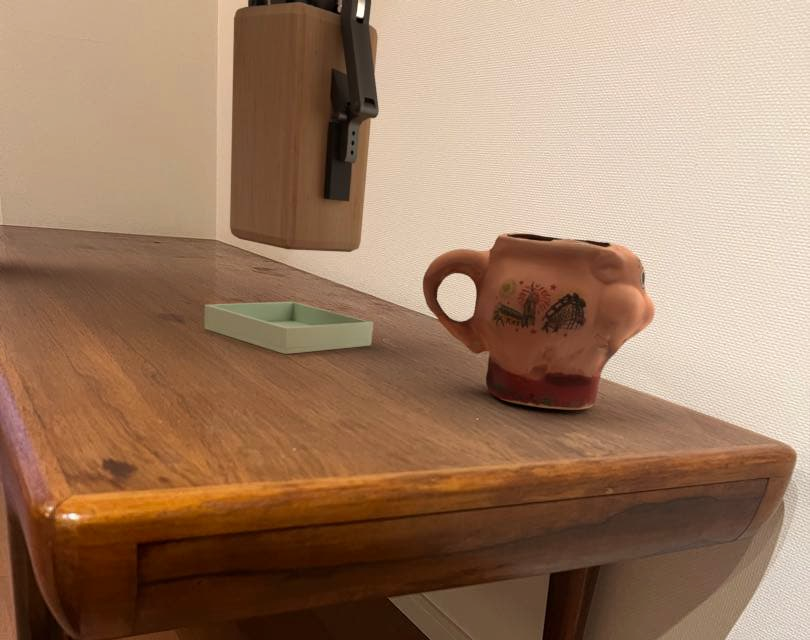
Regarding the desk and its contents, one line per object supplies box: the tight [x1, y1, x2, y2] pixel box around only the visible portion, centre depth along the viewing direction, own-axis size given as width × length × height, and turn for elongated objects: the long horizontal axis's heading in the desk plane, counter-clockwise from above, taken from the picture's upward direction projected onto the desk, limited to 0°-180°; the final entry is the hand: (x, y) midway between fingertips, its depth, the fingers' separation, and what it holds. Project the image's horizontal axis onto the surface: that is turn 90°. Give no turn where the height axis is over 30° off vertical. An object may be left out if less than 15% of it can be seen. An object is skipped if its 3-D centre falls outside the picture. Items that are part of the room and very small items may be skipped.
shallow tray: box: [204, 301, 374, 355], centre depth 83 cm, size 13×13×2 cm
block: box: [229, 2, 379, 253], centre depth 76 cm, size 10×10×20 cm
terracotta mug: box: [422, 232, 656, 411], centre depth 67 cm, size 20×12×14 cm, turn 95°
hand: (297, 194), depth 78 cm, fingers closed on block, 10 cm apart
